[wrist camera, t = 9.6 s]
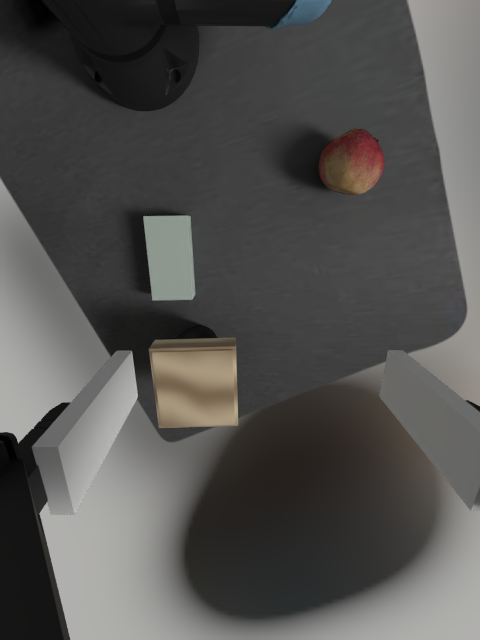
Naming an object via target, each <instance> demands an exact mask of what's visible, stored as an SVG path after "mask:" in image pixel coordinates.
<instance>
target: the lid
mask: <svg viewBox="0 0 480 640" xmlns="http://www.w3.org/2000/svg"><path fill="white" fill-rule="evenodd" d="M149 355H150V362H151V370H152V377H153V385H154V393H155V400H156V408H157V416H158V423H159V428H175V427H209V426H238V400H237V367H236V338H205V339H168V340H154V342H153V343H152V345H151V346H150V348H149Z"/></svg>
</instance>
